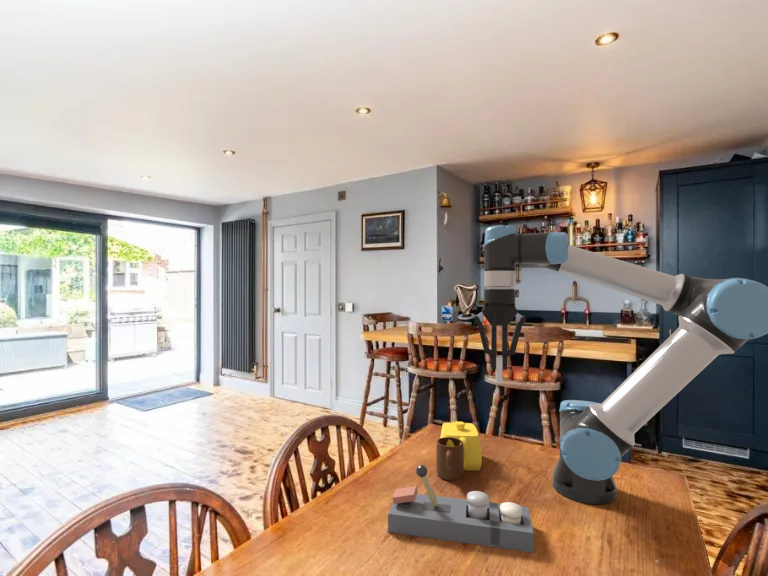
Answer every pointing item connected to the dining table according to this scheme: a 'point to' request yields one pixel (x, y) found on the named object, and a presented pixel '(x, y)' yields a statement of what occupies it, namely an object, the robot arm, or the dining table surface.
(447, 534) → the console
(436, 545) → the dining table surface
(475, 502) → the button
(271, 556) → the dining table surface
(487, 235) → the robot arm
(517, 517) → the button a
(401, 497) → the rocker
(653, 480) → the dining table surface
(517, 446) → the dining table surface
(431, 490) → the lever
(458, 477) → the mug
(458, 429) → the teapot
